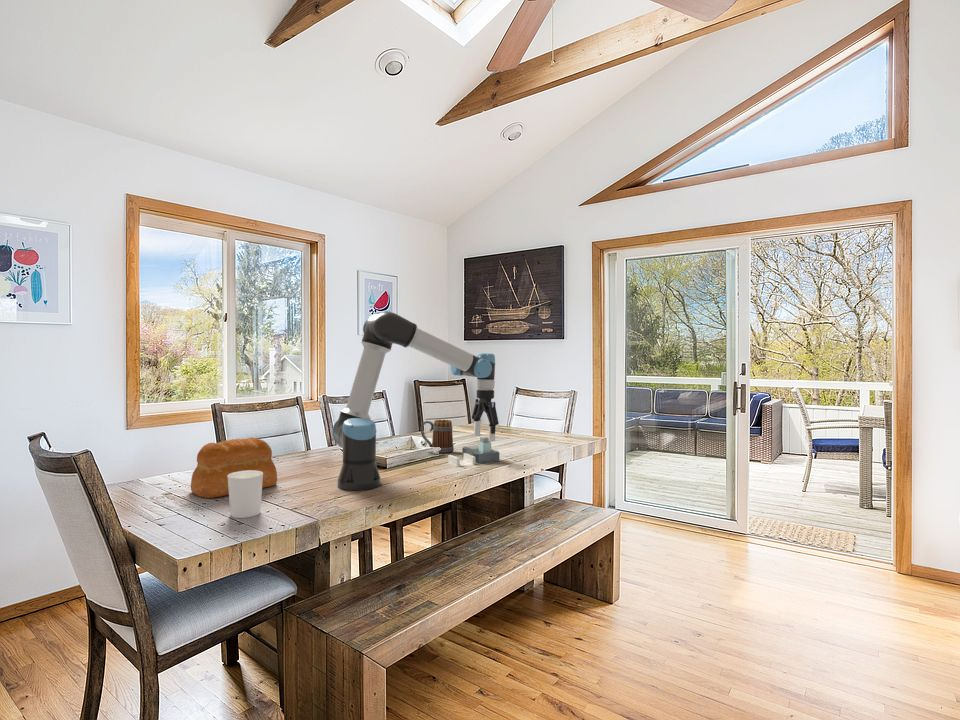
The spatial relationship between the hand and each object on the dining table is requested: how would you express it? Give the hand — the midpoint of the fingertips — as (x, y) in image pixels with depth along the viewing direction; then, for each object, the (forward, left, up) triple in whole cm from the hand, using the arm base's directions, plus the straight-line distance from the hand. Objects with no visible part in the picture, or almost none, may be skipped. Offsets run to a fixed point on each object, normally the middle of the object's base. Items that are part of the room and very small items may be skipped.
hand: (484, 438), depth 234 cm
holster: (-11, 0, -11) cm, 15 cm away
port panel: (0, +4, -11) cm, 11 cm away
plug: (0, 0, -11) cm, 11 cm away
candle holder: (-97, -31, -11) cm, 102 cm away
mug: (-10, +29, -11) cm, 32 cm away
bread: (-98, 0, -11) cm, 98 cm away
